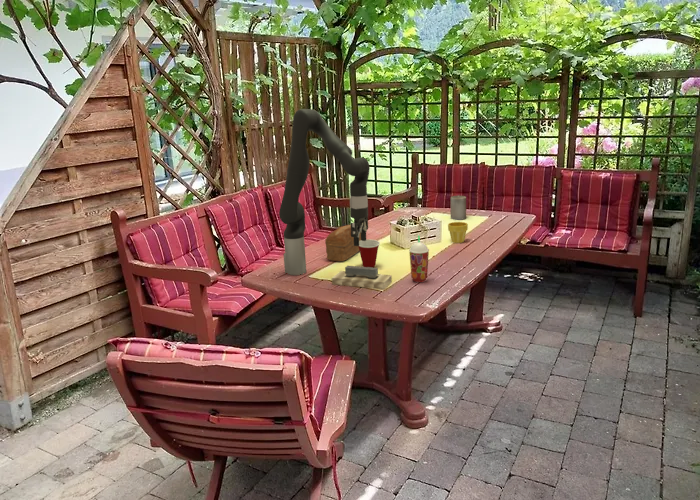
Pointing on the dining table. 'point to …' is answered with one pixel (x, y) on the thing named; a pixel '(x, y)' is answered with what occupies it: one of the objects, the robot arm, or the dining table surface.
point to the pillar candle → (458, 207)
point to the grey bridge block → (361, 271)
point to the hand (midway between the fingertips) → (360, 243)
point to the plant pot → (457, 231)
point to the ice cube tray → (362, 280)
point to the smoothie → (419, 261)
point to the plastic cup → (368, 252)
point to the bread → (341, 244)
